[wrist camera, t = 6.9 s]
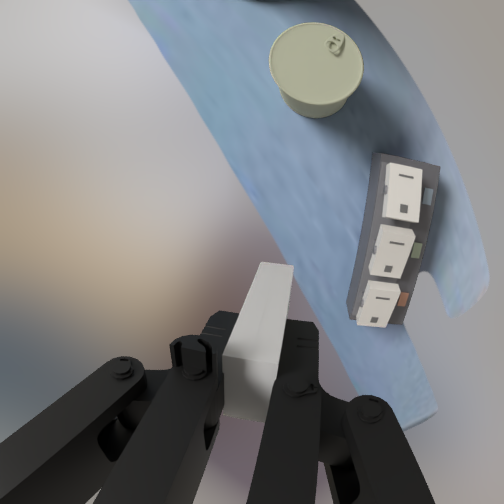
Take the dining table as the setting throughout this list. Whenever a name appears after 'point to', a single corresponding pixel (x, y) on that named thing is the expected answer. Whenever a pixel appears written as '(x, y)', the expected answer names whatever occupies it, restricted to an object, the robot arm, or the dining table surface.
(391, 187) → the rocker
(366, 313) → the rocker
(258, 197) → the dining table surface
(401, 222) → the rocker switch panel
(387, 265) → the rocker
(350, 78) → the can
